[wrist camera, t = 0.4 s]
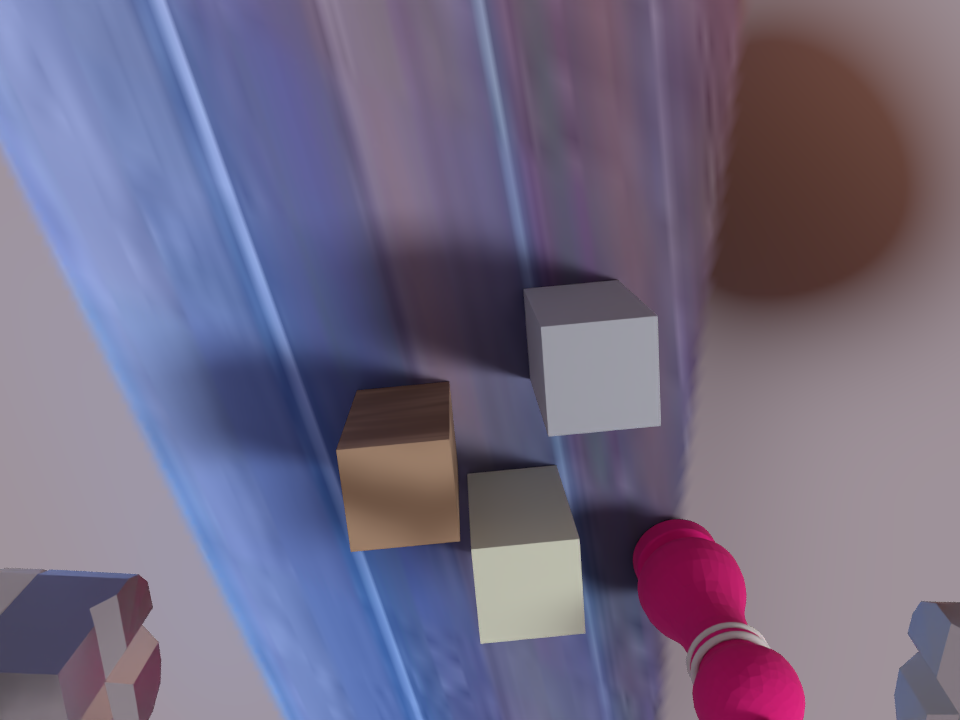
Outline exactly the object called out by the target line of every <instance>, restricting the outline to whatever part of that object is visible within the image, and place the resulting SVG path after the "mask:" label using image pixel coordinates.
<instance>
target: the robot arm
mask: <svg viewBox="0 0 960 720" xmlns="http://www.w3.org/2000/svg"><path fill="white" fill-rule="evenodd" d="M152 608H153V606H152V601H151V596H150V591H149V586H148V582H147V581H146V580H145V579H143V578H142V577H141V576H140V575H139V574H122V573H104V572H102V573H101V572H86V571H68V570H48V571H47V570H43V569H21V568H4V569H0V720H149V718H150V716H151V713H152V712H153V709H154V705H155V701H156V698H157V694H158V690H159V686H160V678H161V657H160V649H159V643H158V641H157V640H156V639H155V638H154V637H153V636H152V635H151V633H150V632H149V631H148V630H147V629H146V628H145V627H144V626H143V625H142V624H143V622H144V621H145V619H146V618H147V616H148V614H149V613H150V611H151V610H152ZM908 635H909V637H910V638H911V640H912V641H913V643H914V644H915V646H916V648H917V649H918V651H919V652H917V653H916V654H915V655H914V656H913V657H912V658H911V659H910V660H908V661H907V662H906V663H905V664H904V665H903V666H902V667H900V668H899V673H898V678H897V684H896V689H895V694H894V696H895V707H896V718H897V720H960V602H931V601H929V602H928V601H921V602H920V604H919V605H918V607H917V608H916V610H915V611H914V612H913V614H912V619H911V622H910V626H909V630H908Z"/></svg>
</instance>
